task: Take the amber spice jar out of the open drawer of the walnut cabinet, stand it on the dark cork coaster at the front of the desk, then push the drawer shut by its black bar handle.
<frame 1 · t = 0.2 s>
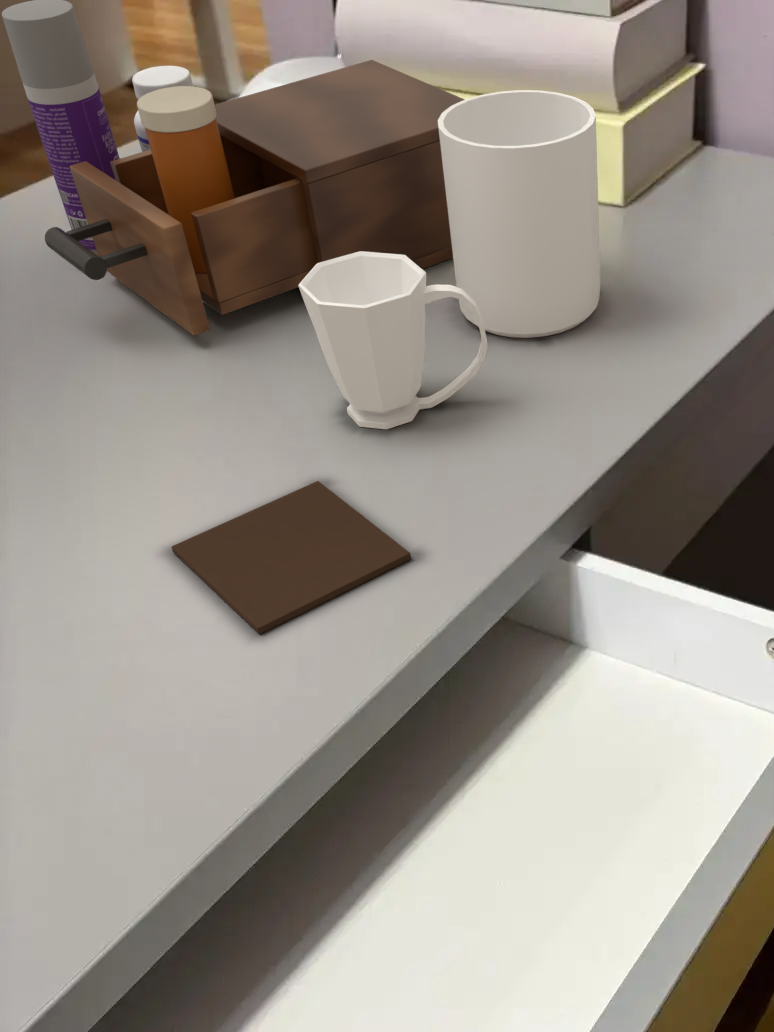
drawer: (195, 228, 82), point 4 cm above the table, slide at 8.5 cm, touching spice jar
mug: (530, 301, 84), on the table
container: (111, 245, 91), on the table
pill bottle: (198, 218, 94), on the table
cup: (410, 410, 75), on the table
coaster: (291, 555, 65), on the table
spice jar: (215, 259, 84), point 2 cm above the table, touching drawer
cabinet: (362, 237, 91), on the table
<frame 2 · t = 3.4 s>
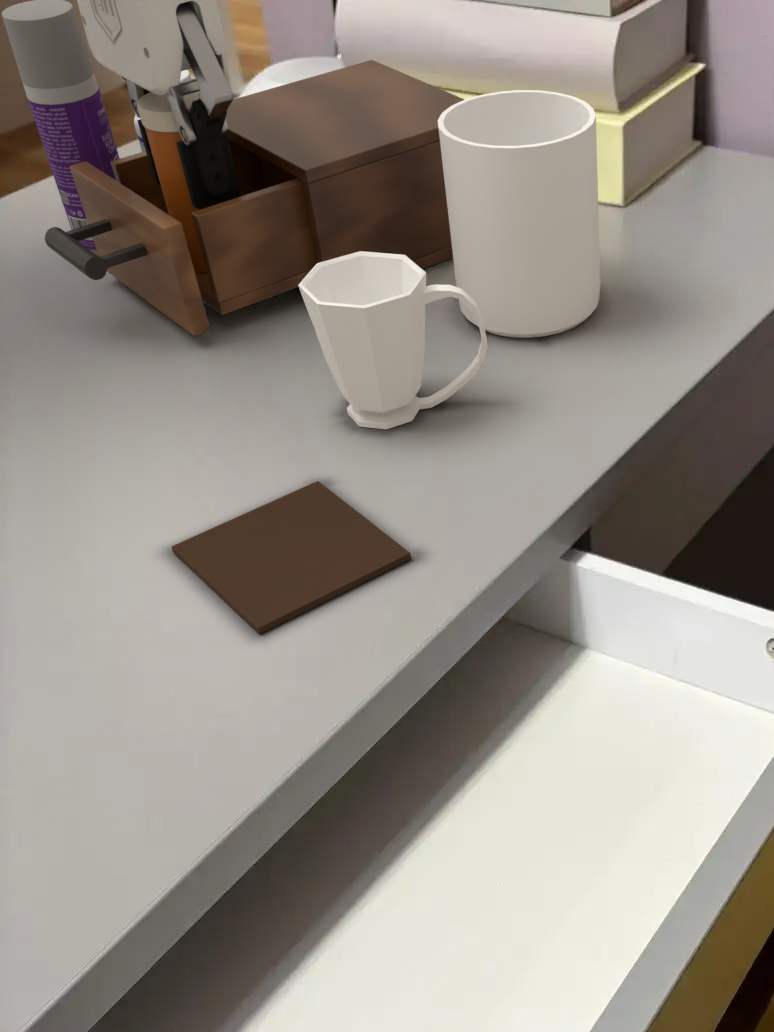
hand: (197, 188, 81), 7 cm above the table, tool pointing down, fingers closed on spice jar, 4 cm apart
spice jar: (215, 259, 84), point 2 cm above the table, touching drawer, gripper
everything else where it was.
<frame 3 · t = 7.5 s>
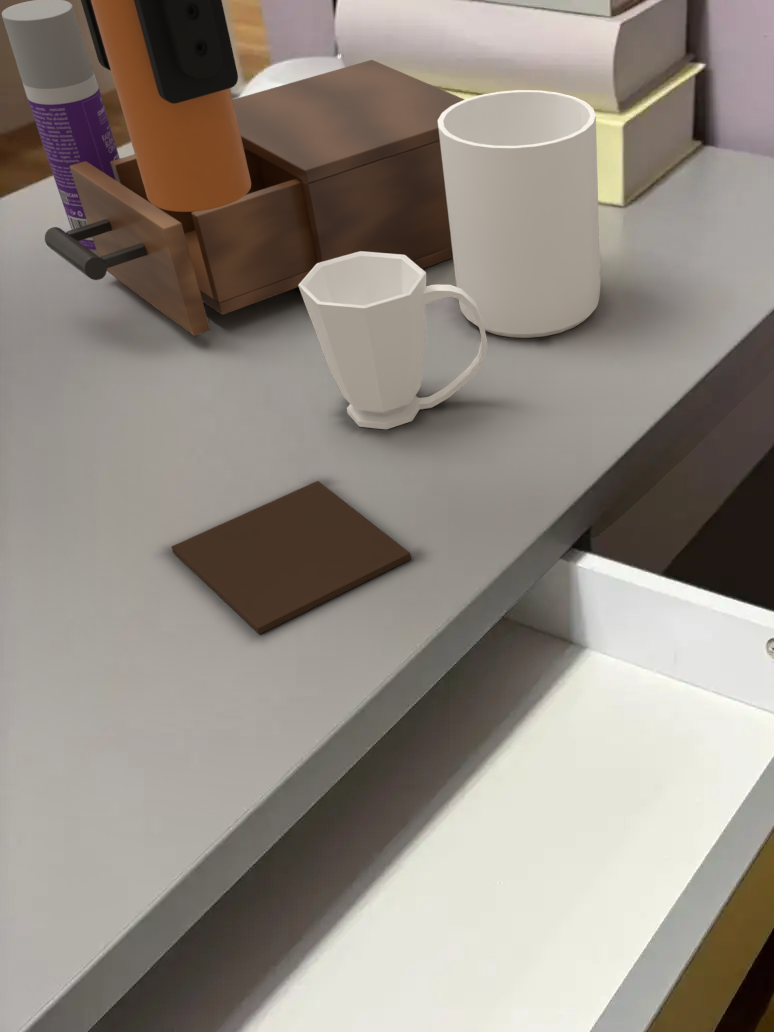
hand: (168, 72, 50), 22 cm above the table, tool pointing down, fingers closed on spice jar, 4 cm apart
drawer: (195, 228, 82), point 4 cm above the table, slide at 8.5 cm
spice jar: (200, 191, 53), point 18 cm above the table, touching gripper
everything else where it was.
when the fingers open (5 cm above the table, at t = 11.8 s): spice jar stays where it is, resting on coaster.
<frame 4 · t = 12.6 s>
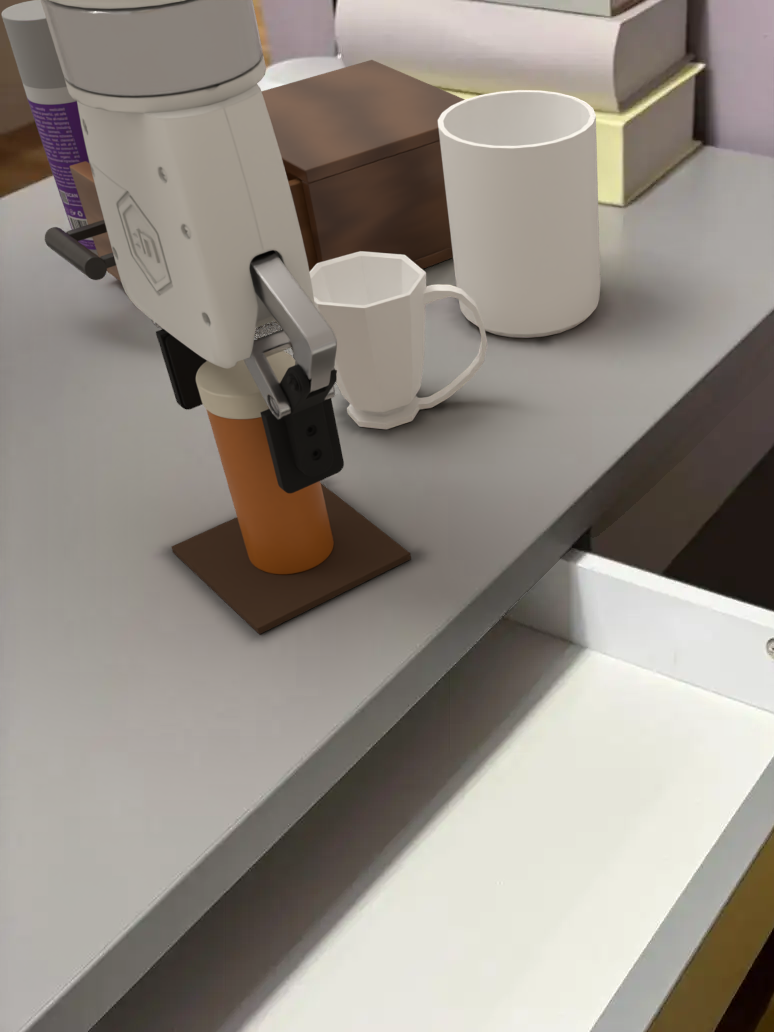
hand: (259, 437, 60), 7 cm above the table, tool pointing down, fingers open, 9 cm apart
spice jar: (291, 549, 64), resting on coaster
everything else where it was.
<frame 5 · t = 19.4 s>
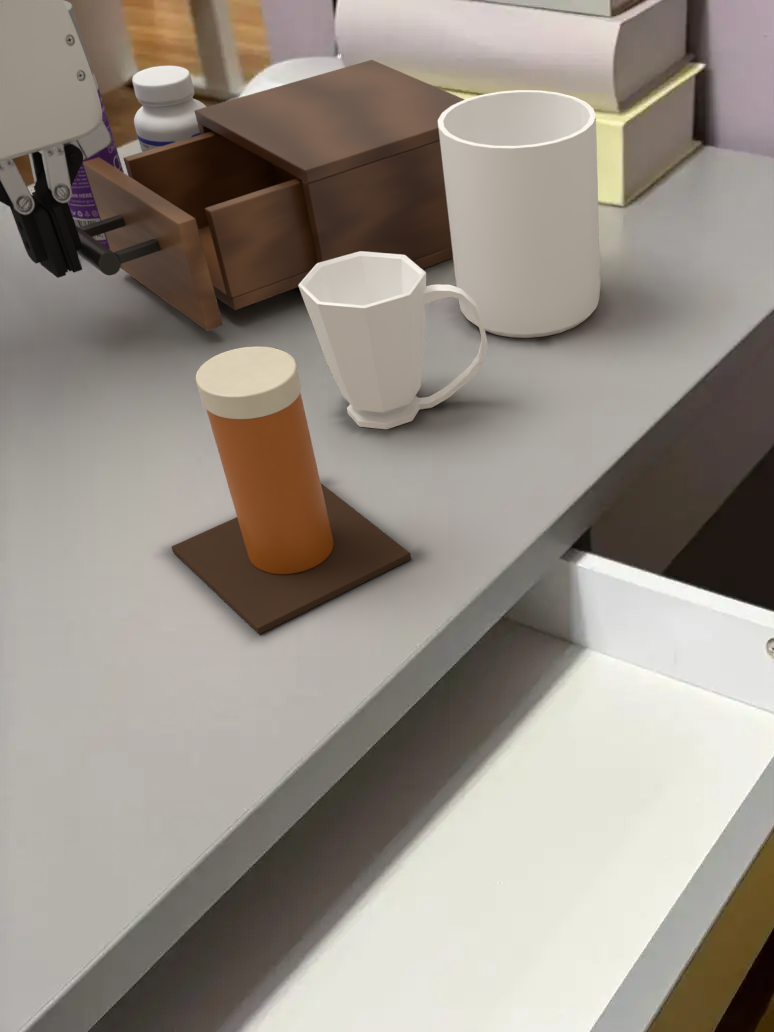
hand: (60, 266, 78), 5 cm above the table, tool pointing down, fingers closed
drawer: (207, 224, 83), point 4 cm above the table, slide at 7.6 cm, touching gripper
everything else where it was.
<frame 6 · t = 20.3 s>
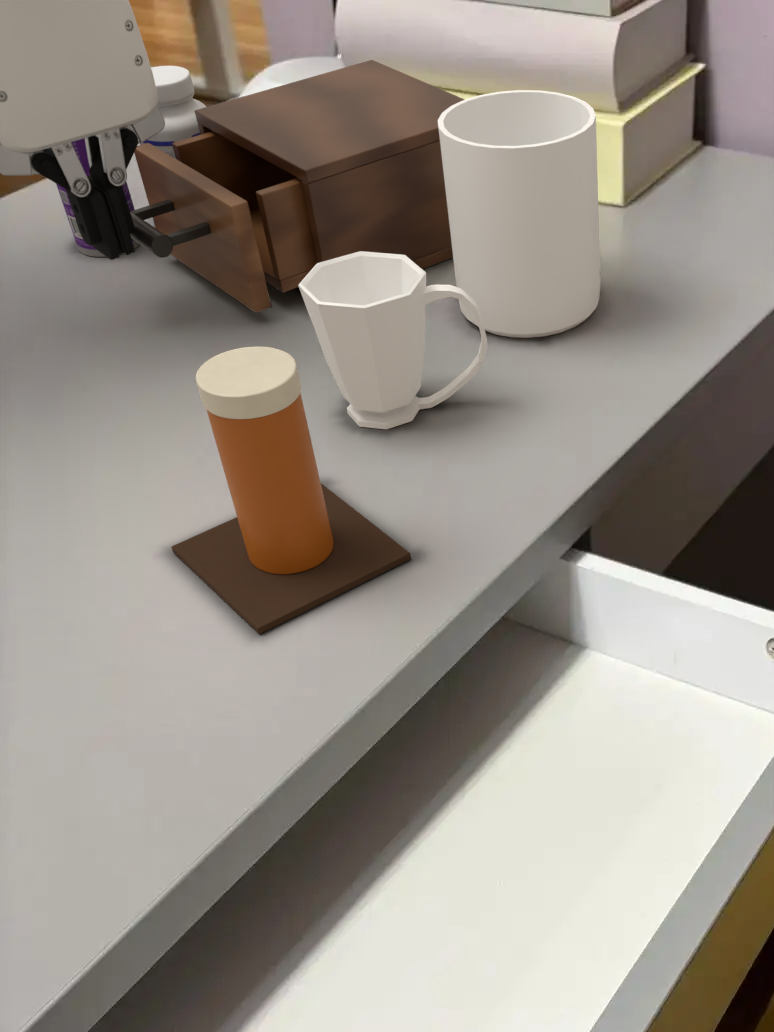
hand: (113, 249, 80), 5 cm above the table, tool pointing down, fingers closed
drawer: (254, 208, 84), point 4 cm above the table, slide at 4.0 cm, touching gripper
everything else where it was.
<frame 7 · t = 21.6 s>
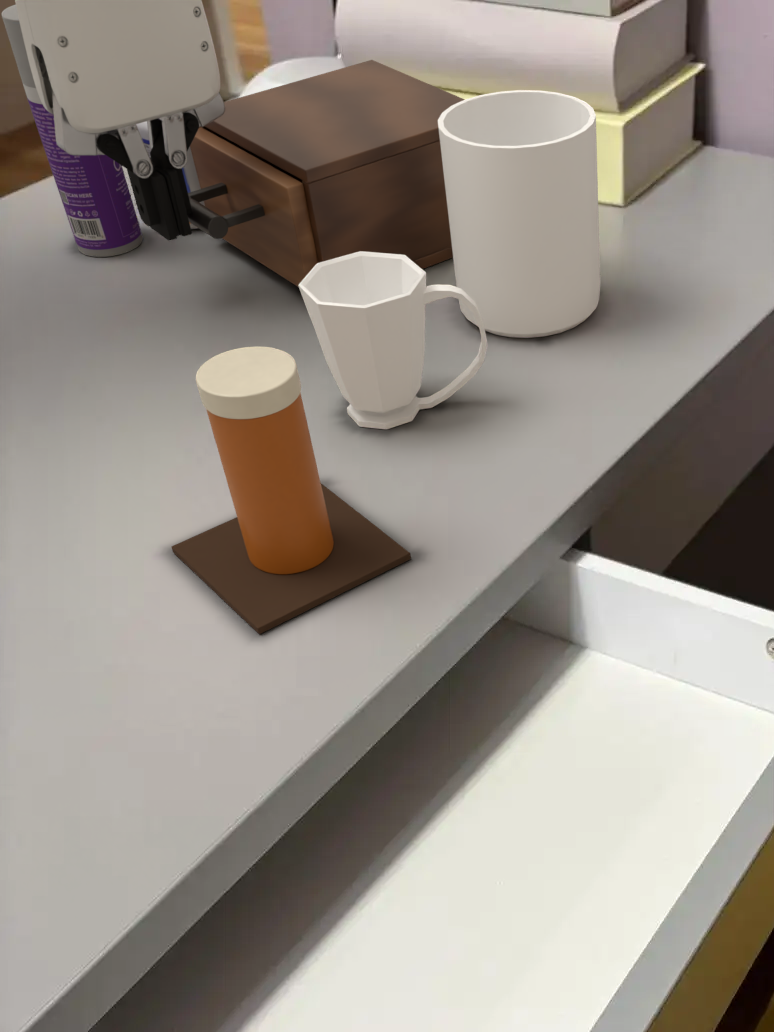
hand: (170, 230, 81), 5 cm above the table, tool pointing down, fingers closed
drawer: (305, 192, 86), point 4 cm above the table, slide at 0.0 cm, touching cabinet, gripper
everything else where it was.
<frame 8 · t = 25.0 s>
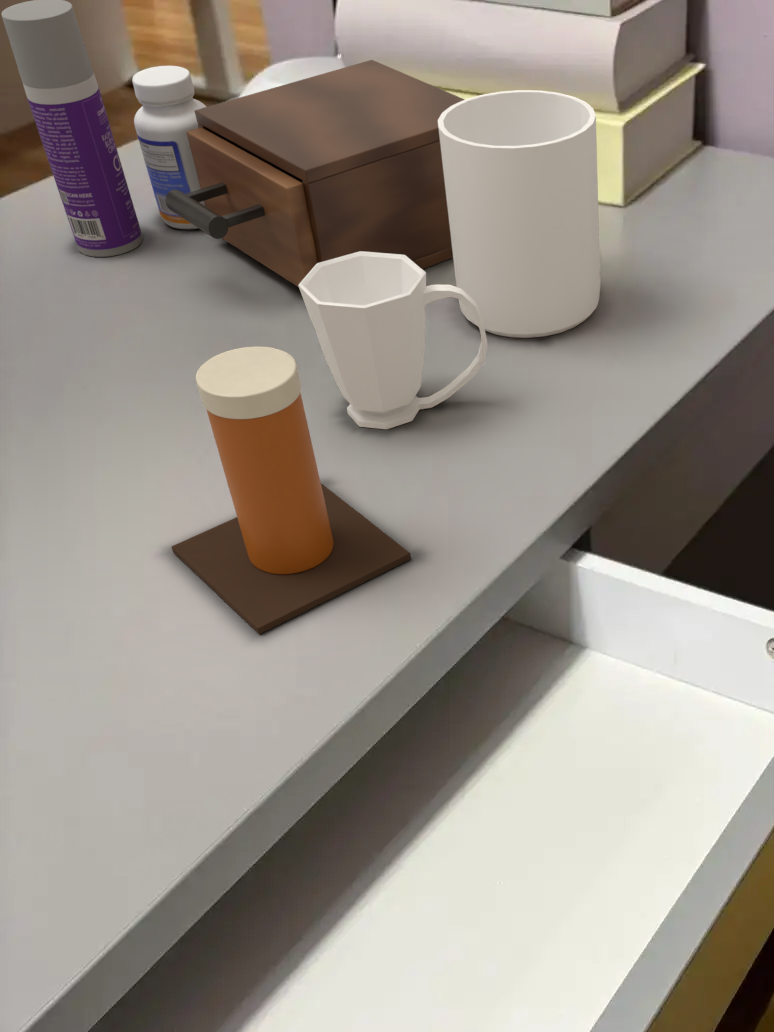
drawer: (305, 192, 86), point 4 cm above the table, slide at 0.0 cm, touching cabinet
everything else where it was.
at the end: spice jar inside the target area on the coaster (0.1 cm from its centre), point 0.4 cm above the coaster's base; spice jar tilted 0°; drawer slide at 0.0 cm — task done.
